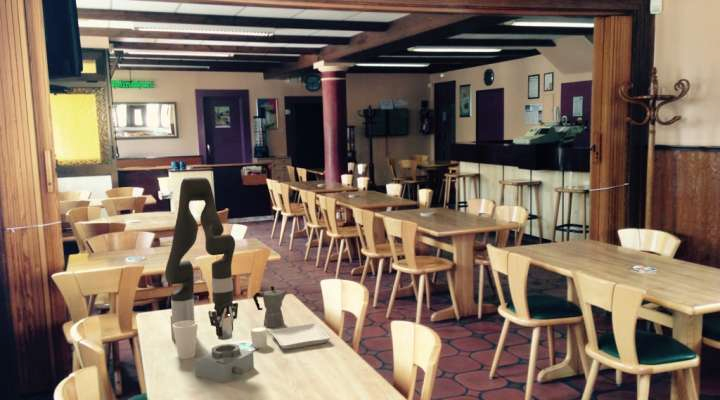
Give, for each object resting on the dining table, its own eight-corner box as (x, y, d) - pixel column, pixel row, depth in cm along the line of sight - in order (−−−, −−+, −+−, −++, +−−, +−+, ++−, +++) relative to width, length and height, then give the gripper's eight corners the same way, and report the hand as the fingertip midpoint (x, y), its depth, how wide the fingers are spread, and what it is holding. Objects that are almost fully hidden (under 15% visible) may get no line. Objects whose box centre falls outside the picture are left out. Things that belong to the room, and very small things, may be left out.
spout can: (215, 338, 232) (213, 314, 231) (224, 334, 236) (223, 310, 235) (225, 340, 229) (224, 316, 228) (235, 336, 234) (234, 312, 233)
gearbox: (195, 376, 228) (194, 354, 227) (225, 361, 242) (224, 341, 241) (231, 384, 220) (230, 362, 219) (260, 368, 234) (259, 347, 233)
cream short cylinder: (264, 348, 255) (263, 332, 254) (248, 348, 256) (247, 331, 256) (270, 343, 262) (269, 326, 261) (254, 342, 263) (254, 326, 262)
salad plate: (281, 353, 250) (281, 345, 250) (268, 337, 270) (268, 329, 270) (331, 345, 258) (331, 337, 258) (315, 330, 278) (315, 322, 277)
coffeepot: (287, 320, 292) (285, 282, 290) (289, 326, 283) (288, 287, 281) (253, 323, 289) (252, 285, 286) (254, 329, 279) (253, 290, 277)
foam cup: (203, 352, 252) (201, 321, 250) (190, 361, 243) (188, 328, 242) (183, 350, 255) (181, 319, 254) (169, 358, 246) (167, 326, 245)
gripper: (227, 283, 239) (230, 327, 241) (201, 292, 226) (203, 338, 228) (243, 285, 235) (245, 329, 237) (217, 294, 223) (219, 341, 224)
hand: (224, 333), depth 232 cm, fingers closed on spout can, 5 cm apart
